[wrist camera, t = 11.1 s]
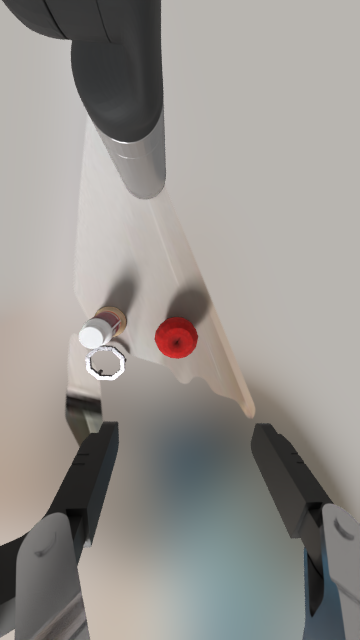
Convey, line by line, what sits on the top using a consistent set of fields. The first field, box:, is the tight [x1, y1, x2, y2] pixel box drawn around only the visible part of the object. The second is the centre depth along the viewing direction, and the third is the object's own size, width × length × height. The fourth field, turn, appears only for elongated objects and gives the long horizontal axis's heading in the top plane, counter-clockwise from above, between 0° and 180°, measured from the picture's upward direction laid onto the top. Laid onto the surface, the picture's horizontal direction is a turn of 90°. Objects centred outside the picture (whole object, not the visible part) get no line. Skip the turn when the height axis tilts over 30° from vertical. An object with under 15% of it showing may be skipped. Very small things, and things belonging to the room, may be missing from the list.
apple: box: [155, 317, 198, 359], centre depth 41 cm, size 10×10×11 cm
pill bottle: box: [79, 311, 121, 349], centre depth 39 cm, size 6×6×11 cm
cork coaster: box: [95, 307, 126, 337], centre depth 44 cm, size 8×8×1 cm
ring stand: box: [86, 345, 126, 380], centre depth 46 cm, size 10×10×2 cm
